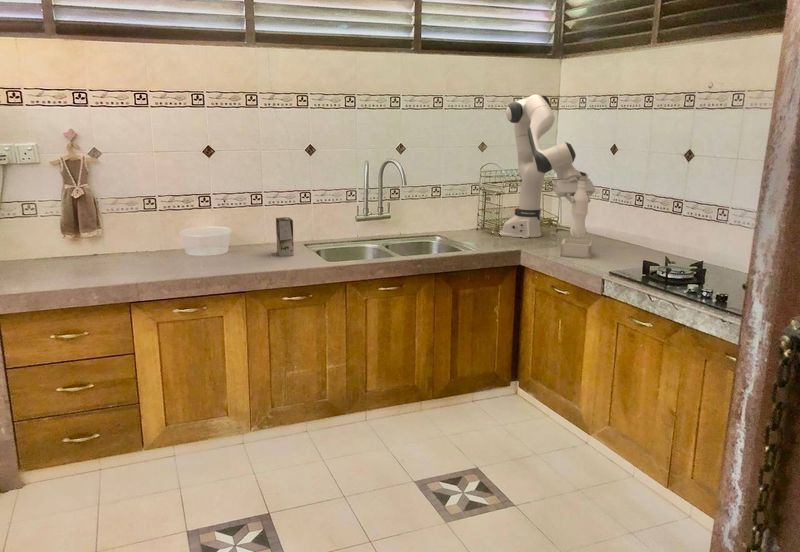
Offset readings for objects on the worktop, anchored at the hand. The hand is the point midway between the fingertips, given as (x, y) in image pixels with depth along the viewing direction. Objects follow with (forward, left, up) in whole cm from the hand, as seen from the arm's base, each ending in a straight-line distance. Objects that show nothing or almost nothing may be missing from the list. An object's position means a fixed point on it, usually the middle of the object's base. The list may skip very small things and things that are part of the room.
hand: (581, 202), depth 290 cm
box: (0, 0, -24) cm, 24 cm away
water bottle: (0, 0, -16) cm, 16 cm away
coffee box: (-124, -48, -25) cm, 136 cm away
